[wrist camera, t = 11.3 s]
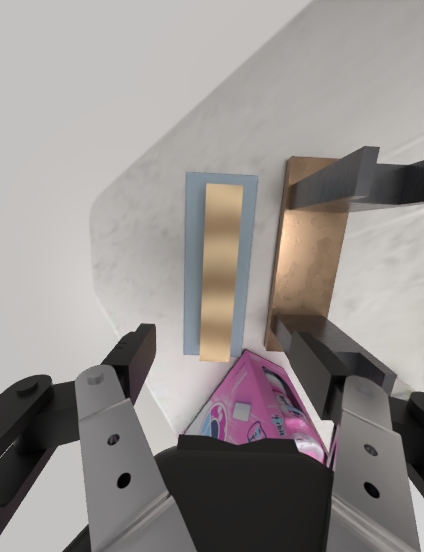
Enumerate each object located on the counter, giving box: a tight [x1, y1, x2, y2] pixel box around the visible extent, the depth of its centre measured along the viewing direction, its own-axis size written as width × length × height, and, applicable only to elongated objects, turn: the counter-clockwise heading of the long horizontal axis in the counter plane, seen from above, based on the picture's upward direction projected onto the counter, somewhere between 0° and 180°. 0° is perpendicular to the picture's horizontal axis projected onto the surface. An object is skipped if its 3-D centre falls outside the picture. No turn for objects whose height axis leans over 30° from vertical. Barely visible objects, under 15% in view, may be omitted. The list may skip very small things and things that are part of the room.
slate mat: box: [184, 172, 258, 357], centre depth 28 cm, size 26×9×1 cm, turn 177°
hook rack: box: [264, 146, 424, 396], centre depth 21 cm, size 26×8×13 cm, turn 177°
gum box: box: [177, 350, 329, 466], centre depth 27 cm, size 24×8×14 cm, turn 149°
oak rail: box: [199, 183, 243, 362], centre depth 26 cm, size 22×4×4 cm, turn 177°
